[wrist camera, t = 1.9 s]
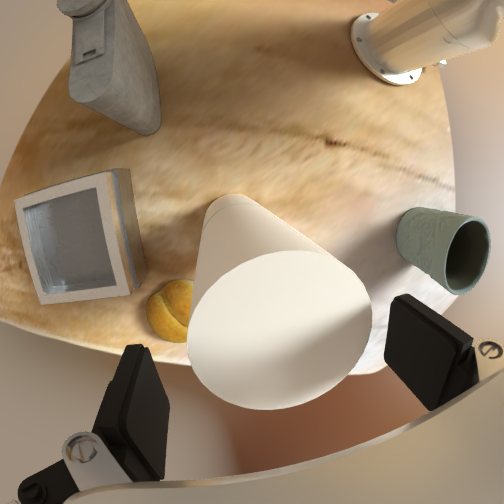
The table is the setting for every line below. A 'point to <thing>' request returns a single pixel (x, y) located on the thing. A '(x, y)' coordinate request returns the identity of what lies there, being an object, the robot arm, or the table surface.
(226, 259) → the cylindrical container
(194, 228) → the table surface
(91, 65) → the hip flask
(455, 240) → the green cup
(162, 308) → the bread roll
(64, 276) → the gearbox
